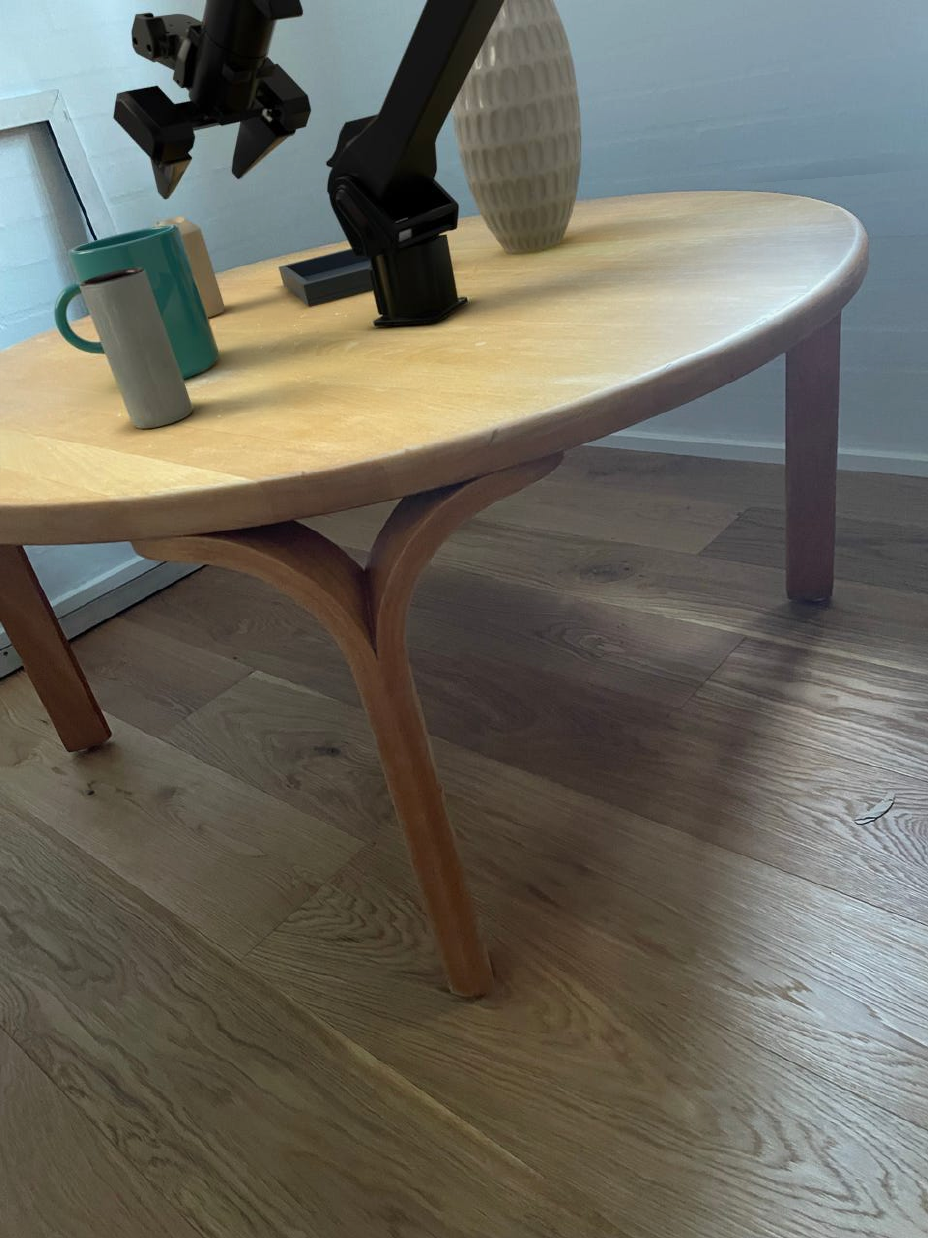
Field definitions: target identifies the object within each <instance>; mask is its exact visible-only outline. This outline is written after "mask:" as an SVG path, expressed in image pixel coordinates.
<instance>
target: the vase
mask: <svg viewBox="0 0 928 1238" xmlns="http://www.w3.org/2000/svg"><path fill="white" fill-rule="evenodd" d="M451 116H452V117H451V118H452V122H453V128H454V135H455V141H456V144H457V145H456V146H457V149H458V155H459V159H460V162H461V166H462V169H463V172H464V173H463V174H464V176H465V179H466V182H467V186H468V189H469V191H470V193H471V196H472V199H473V201H474V203H475V205H476V207H477V210H478V212H479V213H480V216H481V217H482V219H483V221H484V223H485V224H486V227H487V228H488V230H489V231H490V233H491V234H492V235H493V236H494V238H495V239H496V241H497V242H498V244H499V245H500V246H501V247H502V249H503V250H504V251H505V252H506V253H507V254H509V255H524V254H532V253H536V252H542V251H546V250H549V249H552V248H555V247H557V246H559V245H560V244H562V242H563V240H564V237H565V235H566V233H567V232H566V231H567V229H568V226H569V223H570V221H571V218H572V215H573V213H574V208H575V204H576V199H577V195H578V188H579V182H580V173H581V167H582V166H581V165H582V125H581V121H582V120H581V110H580V100H579V90H578V83H577V76H576V69H575V63H574V59H573V55H572V52H571V47H570V42H569V40H568V36H567V33H566V30H565V27H564V24H563V21H562V18H561V16H560V13H559V11H558V9H557V6H556V4H555V1H554V0H505V1H504V3H503V5H502V7H501V9H500V11H499V13H498V15H497V17H496V19H495V21H494V23H493V25H492V27H491V29H490V31H489V33H488V35H487V37H486V39H485V41H484V43H483V45H482V47H481V49H480V51H479V53H478V55H477V57H476V59H475V61H474V63H473V65H472V67H471V69H470V71H469V73H468V75H467V77H466V79H465V81H464V83H463V85H462V87H461V89H460V91H459V93H458V95H457V98H456V100H455V102H454V104H453V106H452V108H451Z"/></svg>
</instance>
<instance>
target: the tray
mask: <svg viewBox="0 0 928 1238" xmlns="http://www.w3.org/2000/svg"><path fill="white" fill-rule="evenodd" d="M370 266H371V262H370V258H369V257H366V256H356V255H355V254H354V252H353V250H352V248H351V247H350V248H348V249H342V250H340V251H336V252H332V253H328V254H324V255H319V256H315V257H312V258H307V259H304V260H301V261H300V260H299V261H296V262H293V263H292V262H291V263H288V264H284V265H281V266H278V270H279V274H280V278H281V281H282V285H283V287H284V288H286V290H288V291H289V292H290V293H291V294H293V295H294V296H295V297H297V298H298V299H299V300H300V301H302V303H304V304H305V305H306V306H308V307H309V308H310V307H314V306H317V305H320V304H324V303H328V302H332V301H336V300H340V299H343V298H347V297H351V296H354V295H358V294H362V293H366V292H369V291H373V288H372V284H371V279H370V275H369V271H368V269H369V267H370Z"/></svg>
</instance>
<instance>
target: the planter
mask: <svg viewBox="0 0 928 1238" xmlns="http://www.w3.org/2000/svg"><path fill="white" fill-rule="evenodd" d="M79 287H80V290H81V292H82V294H81V295H82V298H83V300H84V302H85V305H86V308H87V310H88V313H89V315H90V318H91V320H92V323H93V326H94V329H95V331H96V333H97V336H98V339H99V342H100V341H101V344H102V347H103V349H104V352H105V354H104V355H105V357H106V359H107V362H108V365H109V368H110V370H111V372H112V375H113V378H114V380H115V383H116V385H117V388H118V391H119V393H120V396H121V398H122V401H123V403H124V406H125V408H126V411H127V414H128V416H129V419H130V421H131V423H132V425H133V427H134V428H137V429H141V430H142V429H143V430H144V429H154V428H155V429H156V428H161V427H163V426H164V427H165V426H168V425H170V424H173V423H176V422H178V421H180V420H182V419H185V418H186V417H188V416H189V415H190V414H191V413H192V412H193V410H194V408H193V405H192V402H191V397H190V396H189V393H188V389H187V386H186V384H185V381H184V379H183V378H182V375H181V372H180V369H179V366H178V364H177V361H176V358H175V355H174V352H173V349H172V346H171V343H170V341H169V338H168V335H167V332H166V329H165V326H164V323H163V320H162V317H161V315H160V312H159V309H158V306H157V303H156V300H155V297H154V294H153V292H152V289H151V286H150V283H149V280H148V277H147V274H146V272H145V269H144V268H141V267H137V268H128V269H123V270H118V271H114V272H109V273H106V274H102V275H99V276H95V277H92V278H89V279H87V280H85V281H83V282H81V283H80V284H79Z"/></svg>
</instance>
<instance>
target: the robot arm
mask: <svg viewBox="0 0 928 1238" xmlns="http://www.w3.org/2000/svg"><path fill="white" fill-rule="evenodd" d="M504 1H505V0H426V1H425V4H424V6H423V8H422V11H421V13H420V15H419V17H418V20H417V23H416V24H415V28H414V30H413V31H412V34H411V36H410V38H409V41H408V43H407V46H406V48H405V51H404V53H403V55H402V58H401V59H400V63H399V65H398V67H397V69H396V72H395V74H394V76H393V79H392V81H391V83H390V86H389V88H388V91H387V93H386V95H385V97H384V100H383V102H382V105H381V107H380V109H379V111H378V113H377V114H373V115H367V116H365V117H364V116H363V117H361V118H357V119H353V120H348V121H345V122H344V124H343V126H342V127H341V129H340V131H339V135H338V138H337V142H336V143H337V144H336V147H335V150H334V152H333V154H331V155H332V156H331V157H330V158H328V159H327V161H325V165H326V167H328V168H331V169H330V171H329V173H328V176H327V184H326V192H327V194H328V197H329V203H330V206H331V209H332V211H333V213H334V215H335V217H336V219H337V221H338V223H339V226H340V227H341V230H342V231H343V234H344V236H345V237H346V240H347V242H348V245H349V246H350V249H351V248H352V250H353V252H354V254H355V255H356V256H366V257H369V258H370V262H371V266H370V267H369V269H368V271H369V275H370V279H371V284H372V288H373V290H372V293H373V297H374V301H375V307H376V310H377V313H378V315H379V317H378V318H375V319H374V320H373V321H372V322H373V327H391V326H409V325H424V324H426V325H427V324H434V323H438V322H439V321H441V320H443V319H444V318H446V317H447V316H449V315H450V314H452V313H453V312H456V310H458V309H460V308H461V307H463V306H464V305H466V304H468V303H469V300H468V296H459V295H458V290H457V289H458V288H457V283H456V279H455V273H454V267H453V261H452V256H451V251H450V245H449V239H448V235H447V234H445V233H447V232H450V231H454V230H457V229H458V223H459V213H460V205H459V202H457V201H456V199H454V198H453V197H452V196H451V194H450V193H449V192H447V191H446V189H444V187H443V186H442V185H441V184H440V183H439V182H438V181H437V180H436V179H435V178H436V175H437V172H438V159H437V146H436V142H437V139H438V136H439V134H440V132H441V130H442V128H443V125H444V124H445V122H446V120H447V118H448V116H449V114H450V112H451V111H452V109H451V108H452V106H453V104H454V102H455V100H456V98H457V95H458V93H459V91H460V89H461V87H462V85H463V83H464V81H465V79H466V77H467V75H468V73H469V71H470V69H471V67H472V65H473V63H474V61H475V59H476V57H477V55H478V53H479V51H480V49H481V47H482V45H483V43H484V41H485V39H486V37H487V35H488V33H489V31H490V29H491V27H492V25H493V23H494V21H495V19H496V17H497V15H498V13H499V11H500V9H501V7H502V5H503V3H504ZM303 14H304V9H303V6H302V2H301V0H205V5H204V11H203V14H202V18H201V19H202V20H199V19H198V18H195V17H193V16H191V15H189V14H183V13H172V14H165V15H163V14H162V15H156V16H155V15H154V13H152V12H144V13H136V14H135V15H134V19H133V23H132V27H131V46H132V48H133V50H134V52H135V54H136V55H138V56H140V57H142V58H144V59H146V60H148V61H150V62H151V63H158V64H160V65H162V66H164V67H166V68H169V70H173V75H172V80H173V82H175V83H176V85H177V86H178V87H179V88H180V89H186V90H187V91H188V98H189V100H187V101H182V102H177V103H175V102H174V101H172V99H171V98H170V97H169V96H168V95H167V94H166V93H165V92H164V91H163V89H161V88H160V87H159V85H153V86H152V85H151V86H147V87H141V88H136V89H131V90H130V89H129V90H125V91H124V90H123V91H121V92H117V93H116V96H115V97H116V98H115V101H114V109H113V117H112V119H113V120H114V121H115V122H116V123H117V124H118V125H119V126H120V128H122V129H123V130H124V132H125V133H126V134H127V135H128V136H129V137H130V138H131V139H132V140H133V141H134V142H135V143H136V144H137V146H139V148H140V149H141V150H142V151H143V152H144V153H145V154H146V155H147V156H148V157H149V160H150V164H151V168H152V172H153V177H154V181H155V186H156V190H157V193H158V194H159V196H161V197H162V199H163V200H168V199H170V197H171V196H172V194H173V193H174V191H176V188H177V186H178V185H179V183H180V181H181V180H182V177H183V176H184V174H185V172H186V171H187V169H188V167H189V166H190V164H191V162H192V160H193V157H192V155H191V154H190V151H192V149H193V148H194V145H195V142H196V135H195V132H196V131H201V130H205V129H209V128H213V127H218V126H221V127H224V126H228V125H232V124H237V123H239V126H238V127H239V128H238V132H237V136H236V141H235V146H234V150H233V155H232V162H231V174H232V175H233V176H234V177H235V178H236V179H237V180H241V179H243V178H244V177H245V176H246V175H247V174H248V173H249V172H251V170H252V169H253V168H254V167H255V166H257V165H258V164H259V163H260V162H261V161H262V160H263V159H265V157H267V156H268V155H269V154H270V153H272V152H273V150H275V149H276V148H277V147H278V146H281V144H282V143H284V141H286V140H287V139H288V138H290V137H293V136H294V135H295V134H296V133H297V130H299V129H303V128H306V127H307V125H308V121H309V119H310V116H311V113H312V107H311V103H310V98H309V95H308V93H306V92H305V91H304V89H302V87H301V86H300V85H299V84H298V83H297V82H296V81H295V80H294V79H293V78H292V77H291V76H290V75H289V73H287V72H286V70H284V68H282V66H281V65H280V64H279V63H274V61H272V60H271V59H270V58H269V57H268V55H269V53H270V47H271V44H272V40H273V36H274V33H275V30H276V25H277V22H278V21H281V20H287V19H295V18H301V17H303Z"/></svg>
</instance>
